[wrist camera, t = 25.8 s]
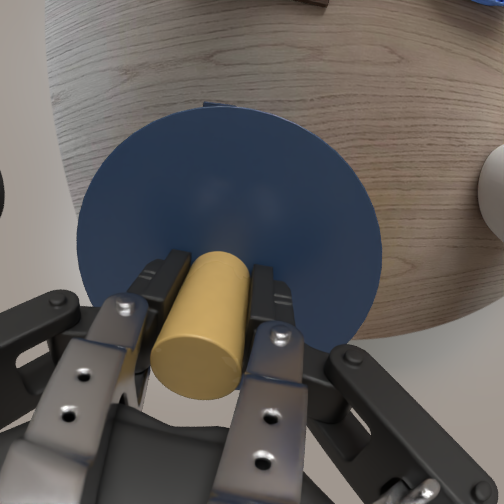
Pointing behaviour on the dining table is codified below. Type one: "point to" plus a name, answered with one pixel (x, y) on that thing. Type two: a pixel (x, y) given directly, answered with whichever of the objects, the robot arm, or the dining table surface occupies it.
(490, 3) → the bowl
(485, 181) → the cup
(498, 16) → the dining table surface
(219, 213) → the pot lid
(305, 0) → the trivet
